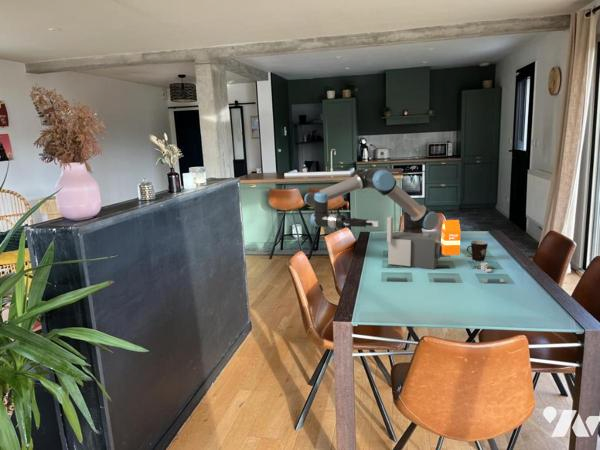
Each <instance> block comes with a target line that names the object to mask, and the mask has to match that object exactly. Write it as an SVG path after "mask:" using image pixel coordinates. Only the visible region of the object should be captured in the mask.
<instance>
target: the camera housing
mask: <svg viewBox="0 0 600 450" xmlns="http://www.w3.org/2000/svg"><path fill="white" fill-rule="evenodd" d="M439 238H440V234H433V233H427V232H423V234H420V233H406V232H403V231H394V232H393V239H403V240H411V266H403V265H394V264H388V265H389V266H395V267H396V266H397V267H405V268H415V269H424V270H432V271H433V270H435V269H436V267H437V265H438V263H439V259H440V258H441V257H442V255H443V253H442V244H441V242H440V239H439Z"/></svg>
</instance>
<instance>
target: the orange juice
mask: <svg viewBox="0 0 600 450" xmlns="http://www.w3.org/2000/svg"><path fill="white" fill-rule="evenodd" d="M461 232H462V231H461V225H460V220H459V219H444V220H443V222H442V226H441V236H440V237H441V238H440V243H441V244H442V255H444V256H459V255H460V247H461ZM456 254H457V255H456ZM458 254H459V255H458Z"/></svg>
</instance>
